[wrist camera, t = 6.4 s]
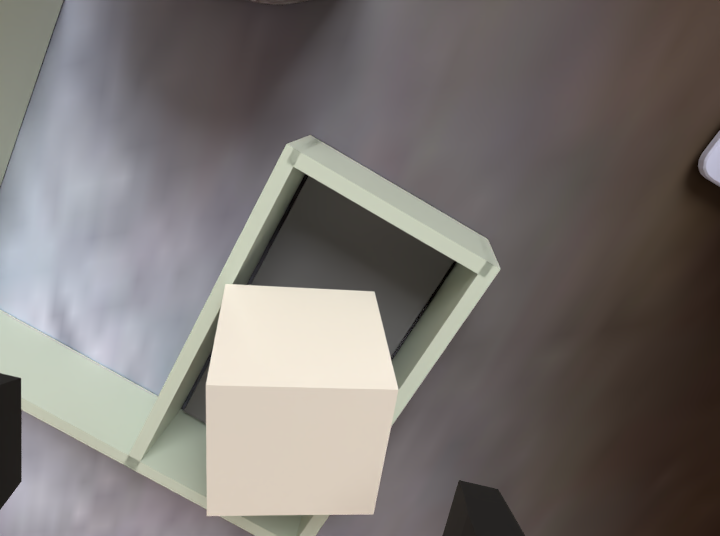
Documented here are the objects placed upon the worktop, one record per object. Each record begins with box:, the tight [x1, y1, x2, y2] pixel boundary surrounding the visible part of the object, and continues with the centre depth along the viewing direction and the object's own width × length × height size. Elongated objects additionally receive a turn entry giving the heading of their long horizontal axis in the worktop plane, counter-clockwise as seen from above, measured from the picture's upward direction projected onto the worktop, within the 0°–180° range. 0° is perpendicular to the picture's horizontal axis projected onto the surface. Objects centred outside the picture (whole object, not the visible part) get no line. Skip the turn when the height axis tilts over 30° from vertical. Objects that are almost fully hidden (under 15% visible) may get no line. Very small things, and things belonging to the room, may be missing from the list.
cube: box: [206, 284, 398, 516], centre depth 14 cm, size 4×4×4 cm
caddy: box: [0, 0, 500, 536], centre depth 17 cm, size 14×11×3 cm
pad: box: [184, 176, 454, 423], centre depth 18 cm, size 5×10×1 cm, turn 150°
